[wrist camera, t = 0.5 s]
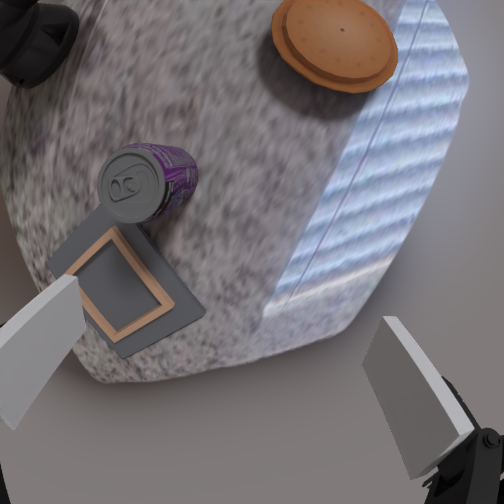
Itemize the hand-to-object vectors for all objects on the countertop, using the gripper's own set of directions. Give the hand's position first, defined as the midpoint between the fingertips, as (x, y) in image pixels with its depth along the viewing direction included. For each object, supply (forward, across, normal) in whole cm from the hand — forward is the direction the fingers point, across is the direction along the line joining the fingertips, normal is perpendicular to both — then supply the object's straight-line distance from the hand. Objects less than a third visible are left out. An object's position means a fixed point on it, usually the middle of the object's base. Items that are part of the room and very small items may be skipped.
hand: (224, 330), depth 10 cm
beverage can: (+24, -9, +3) cm, 25 cm away
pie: (+24, +8, +24) cm, 34 cm away
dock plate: (+23, -16, -12) cm, 31 cm away
